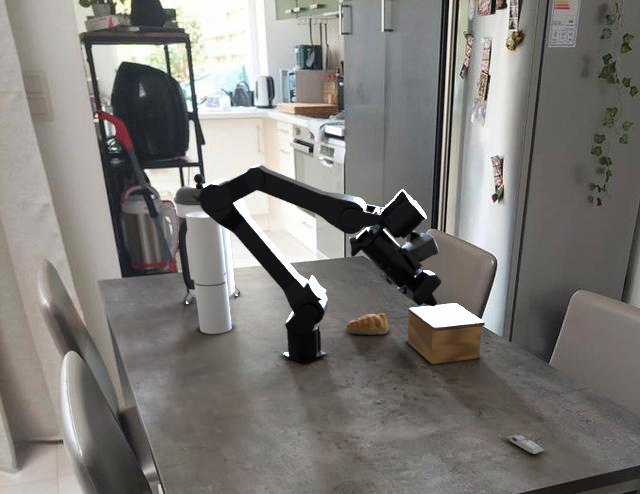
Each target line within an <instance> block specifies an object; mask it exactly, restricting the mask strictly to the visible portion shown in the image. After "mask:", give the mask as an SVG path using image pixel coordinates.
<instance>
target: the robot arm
mask: <svg viewBox="0 0 640 494" xmlns="http://www.w3.org/2000/svg"><path fill="white" fill-rule="evenodd" d="M207 184H208V183H207ZM255 192H261V193H263V194H266V195H268V196H271V197H274V198H276V199H278V200H280V201H284V202H286V203H288V204H291V205H294V206H296V207H299V208H301V209H303V210H306V211H308V212H311V213H314V214H316V215H318V216H319V217H320V218H322V219H323V220H324V221H326V223H328V224H330V225H331V226H333V227H334V228H335V229H338V231H341V232H343V233H344V234H347V235H354V234H357V233H358V232H360V233H359V234H358V235H356V236H353V237H352V236H350V237H348V240H349V246H348V247H349V248H348V249H349V253H350V257H355V256H356V255H357V254H359V252H361V251H362V253H363V254H364V255H365V256H366V257H367V258H368V259H369V260H370V261H371V262H372V263H373V264H374V266H375V267H376V269H378V270H379V271H380V277H381V278H382V279H383V280H384V281H385V283H387V284H389V285H390V286H392V285H394V286H396V287H397V291H398V292H400V293H401V294H402V295H404V296H405V297H407V298H408V299H409V300H411V301H412V302H413V303H414V304H416V305H417V306H418V307H421V306H423V305H427V306H432V307H434V306H435V305H438V301H437V300H436V298H435V296H434V292H435V291H436V290H438V288H439V287H440V286H441V284H442V280H441V279H440V277H439V276H437V274H436V273H434V272H432V271H431V270H428V269H427V270H423V269H421V268H422V267H423V264H422V262H424V261H426V260H428V259H429V258H431V257H433V256H436V255H438V254H439V253H440V249H439V247H438V244H437V242H436V239H435V237H434V235H431V234H430V233H427V232H426V233H423V232H421V233H418V232H417V231H415V230H416V229H417V228H418V227H419V226H420V225H421V224H423V222H424V221H426V220H427V219H428V217H427V215H426V213H425V211H424V210H423V208H422V207H421V206H420V204H419V203H418V202H417V200H414V199H413V198H412V197H411V195H409V194H408V193H407V192H406V191H405V190H404V189H401V190H399V192H397V194H396V195H395V196H394V198H393V199H392V200H390V202H388V204H386V205H385V207H381V206H378V205H377V206H376V205H372V204H367V203H366V202H365V201H364V199H363V198H361V197H359V196H356V195H350V194H345V193H341V192H330V191H324V190H322V189H319V188H317V187H315V186H312V185H310V184H307V183H305V182H302V181H300V180H296V179H294V178H292V177H289V176H286V175H284V174H282V173H279V172H276V171H274V170H272V169H270V168H267V167H266V166H265V165H263V164H259V163H257V164H255V165H253V166H251V167H250V168H248V169H247V170H246V171H244V172H242V173H240V174H238V175H236V176H234V177H233V178H230V179H229V180H228V179H223V178H220V179H219V178H218V179H216V180H214V181H212V182H210V183H209V184H208V185H206V186H205V187H204V188H203V189H202V190H201V193H200V196H199V197H200V202H199V203H200V206H201V208H202V209H203V211H204V212H205V213H206V214H207V215H209V216H210V217H211V218H212V219H213V220H215V221H216V222H217V223H218V224H220V225H221V226H223V227H225V228H226V229H228V230H230V233H232V234H234V235H235V237H236V238H237V239H238V240H239V241H240V242H241V244H242V245H243V246H244V247H245V248H246V249H247V250H248V252H249V253H250V254H251V256H252V257H254V259H255V260H256V261H257V262H258V263H259V264H260V266H261V267H262V268H263V269H264V270H265V271H266V273H267V274H268V275H269V276H270V278H272V279H273V281H274V282H275V283H276V284H277V285H278V286H279V288H280V289H281V290H282V291H283V293H284V296H285V298H286V300H287V303H288V305H289V308H290V309H291V313H290V315H289V317H288V318H287V320H286V322H285V323H284V325H285V329H286V337H287V351H286V352H284V353H283V355H282V356H283V357H284V358H287V359H290V360H291V361H294V362H295V361H296V362H298V363H301V364H307V363H310V362H313V361H315V360H317V359H320V358H322V357H325V356H326V352H325V351H321V350H322V339H321V331H320V324H319V323H321V322H322V320H323V319H324V317H325V314H326V311H327V309H328V306H329V298H328V297H327V295H326V292H327V290H326V289H325V288H323V286H321V285H320V283H319V282H318V280H317V279H316V278H315V276H314V275H311V276H310V278H308V279H307V278H305V277H304V276H303V275H301V274H299V272H298V271H297V270H296V269H295V268H294V267H293V266H292V264H291V263H290V262H289V261H288V260H287V258H286V257H285V256H284V255H283V253H281V251H280V250H279V248H277V247H276V245H275V244H274V243H273V242H272V241H271V240H270V239H269V237H268V236H267V235H266V234H265V233H264V231H263V230H262V229H261V228H260V227H259V226H258V224H257V223H256V222H255V221H254V220H253V219H252V217H251V215H250V213H249V211H248V208H247V206H246V203H245V201H244V199H243V198H245V197H247V196H249V195H251V194H252V193H255ZM364 228H365V229H364ZM386 230H387V231H388V232H387V231H386ZM394 238H395V239H399V238H402V239H403V240H405V239H406V241H405V242H404V245H403V246H402V245H400V243H398V242H397V241H396V240H395V239H394Z"/></svg>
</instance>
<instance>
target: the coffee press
mask: <svg viewBox="0 0 640 494" xmlns="http://www.w3.org/2000/svg"><path fill="white" fill-rule="evenodd" d="M193 180H194V182H195V184H188V185H183V186H181V187H180V188H178V189H177V190H176V192H175V195H174V197H173V202H174V204H175V207H176V222H177V225H178V235H177V241H178V252H179V258H180V259H179V260H180V265H181V273H182V278H183V282H184V285H185V287H186V288H185V289H186V293H185V295H184V297H183V300H182V301H183V302H184V303H185V304H186V305H189V304H191V303H192V302H193V300H196V292H195V285H194V277H193V269H192V261H191V253H190V245H189V237H188V229H187V221H186V214H188V213H191V212H199V211H203V209H202V208H201V206H200V203H199V202H200V197H199V196H200V193H201V190H202V189H203V188H204V187H205V186H206V185H208V183H203V182H204V180H205V178H204V176H203V175H202V174H201V173H196V174H195V175H194V176H193ZM221 229H222V238H223V248H224V258H225V268H226V278H227V288H228V297H230V296H231V295H234V296H235V297H240V296H241V291H240V289H238V287H237V286H236V279H235V278H236V277H235V269H234V259H233V247H232V238H231V231H230V230H228V229H226V228H225V227H223V226H221ZM235 290H236V291H237V294H235V293H234V292H235ZM189 295H190V296H191V297H190V298H189V299H188V297H189ZM187 299H188V301H187Z"/></svg>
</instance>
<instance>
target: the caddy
mask: <svg viewBox="0 0 640 494" xmlns="http://www.w3.org/2000/svg"><path fill="white" fill-rule="evenodd" d="M407 313H408V314H407V315H408V316H407V344H408V345H410V346H411V347H412V348H413V349H414V350H415V351H416V352H418V353H419V354H420V355H421V356H422V357H424V358H425V359H426V360H427V361H428V362H429V363H430V364H432V365H437V364H444V363H445V364H446V363H453V362H459V361H466V360H474V359H479V358H480V352H481V351H480V350H481V340H482V339H481V338H482V330H483V329H482V328H483V326H479V327H470V328H461V329H452V330H443V331H433V330H431V329H430V328H429V327H428V326H426V325H425V324H424V323H422V322H421V321H420V320H419V319H417V318H416V317H415V316H413V315H412V314H411V313H410V312H407Z"/></svg>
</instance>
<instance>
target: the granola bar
mask: <svg viewBox="0 0 640 494" xmlns="http://www.w3.org/2000/svg"><path fill="white" fill-rule="evenodd" d="M506 438H507V439H508V440H509V442H511V443H513V444H514V445H516V446H518V447H520V448H521V449H523V450H525V451H526V452H528V453H529V454H533V455H536V454H539V453H540V452H541V453H542V452H544V451H545V449H544V448H542V447H541V446H540V445H539V444H537V443H535V442H533V440H530V439H528V438H526V437H525V436H523V435H521V434H519V433H514V434H512V435H508V436H506Z"/></svg>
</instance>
